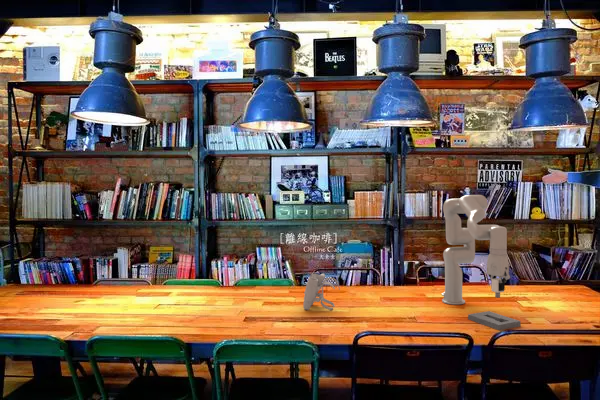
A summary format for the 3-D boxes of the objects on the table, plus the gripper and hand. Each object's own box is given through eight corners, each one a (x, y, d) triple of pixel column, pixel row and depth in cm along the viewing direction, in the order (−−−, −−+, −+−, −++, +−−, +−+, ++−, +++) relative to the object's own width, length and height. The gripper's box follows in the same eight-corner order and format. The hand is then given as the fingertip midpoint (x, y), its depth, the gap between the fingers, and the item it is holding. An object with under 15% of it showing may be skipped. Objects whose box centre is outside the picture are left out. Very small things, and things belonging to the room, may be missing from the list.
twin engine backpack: (331, 318, 269) (340, 282, 267) (297, 308, 272) (306, 273, 270) (335, 309, 286) (343, 276, 284) (304, 300, 289) (312, 267, 287)
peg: (491, 296, 243) (491, 278, 243) (497, 295, 245) (497, 278, 245) (497, 298, 240) (497, 280, 239) (504, 297, 241) (504, 279, 241)
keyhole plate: (468, 319, 253) (468, 314, 253) (489, 315, 259) (489, 311, 259) (498, 330, 235) (498, 324, 235) (520, 326, 241) (520, 321, 241)
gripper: (479, 250, 248) (479, 287, 248) (505, 255, 232) (505, 294, 233) (491, 249, 250) (490, 285, 251) (517, 253, 235) (517, 292, 236)
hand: (497, 289), depth 242 cm, fingers closed on peg, 4 cm apart
